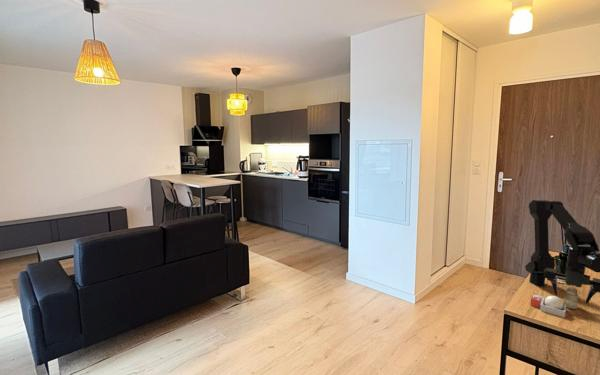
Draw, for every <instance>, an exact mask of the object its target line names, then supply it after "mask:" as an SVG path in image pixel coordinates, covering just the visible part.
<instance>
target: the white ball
mask: <svg viewBox="0 0 600 375" xmlns="http://www.w3.org/2000/svg"><path fill="white" fill-rule="evenodd" d="M545 298H546V299H545V304H544V305H545V306H549V307H552V308H556V309H560V310H562V308H563V303H564V301H562V299H561V298H559V297H558V296H555V295H548V296H547V297H545Z"/></svg>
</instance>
